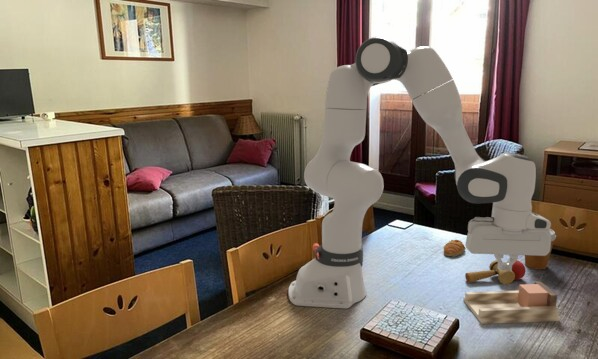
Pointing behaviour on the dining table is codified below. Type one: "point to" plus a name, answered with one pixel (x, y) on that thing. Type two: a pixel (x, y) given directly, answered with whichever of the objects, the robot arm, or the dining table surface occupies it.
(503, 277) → the kendama
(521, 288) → the salmon pink cube
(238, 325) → the dining table surface
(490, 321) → the channel
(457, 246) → the pastry
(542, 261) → the disposable coffee cup
